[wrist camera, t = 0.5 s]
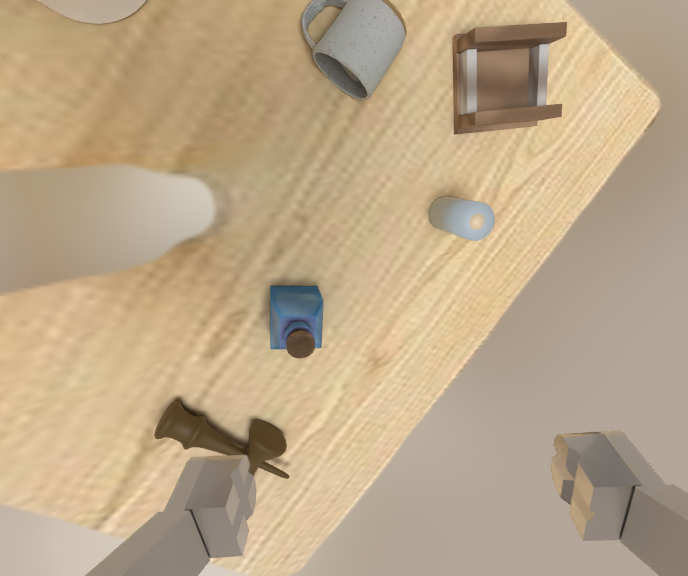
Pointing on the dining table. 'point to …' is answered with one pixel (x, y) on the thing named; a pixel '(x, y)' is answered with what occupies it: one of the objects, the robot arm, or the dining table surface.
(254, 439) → the kendama
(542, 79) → the holder
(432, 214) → the paper roll
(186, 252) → the dining table surface
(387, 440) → the dining table surface
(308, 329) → the perfume bottle
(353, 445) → the dining table surface
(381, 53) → the ceramic mug
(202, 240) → the dining table surface
